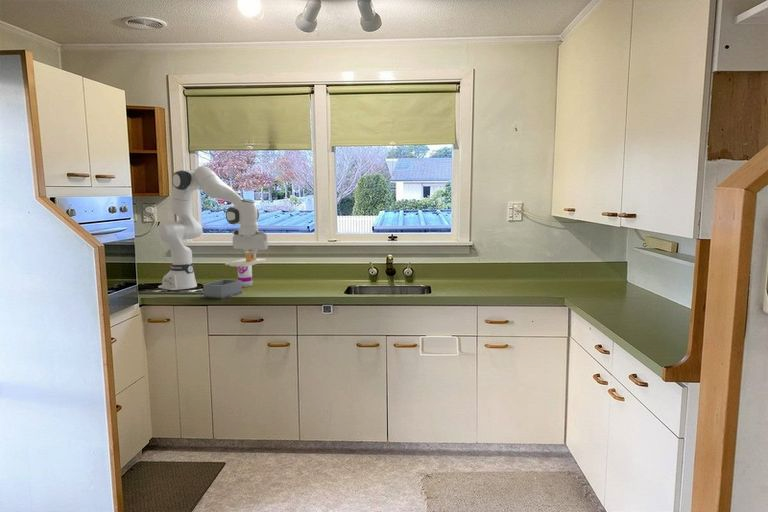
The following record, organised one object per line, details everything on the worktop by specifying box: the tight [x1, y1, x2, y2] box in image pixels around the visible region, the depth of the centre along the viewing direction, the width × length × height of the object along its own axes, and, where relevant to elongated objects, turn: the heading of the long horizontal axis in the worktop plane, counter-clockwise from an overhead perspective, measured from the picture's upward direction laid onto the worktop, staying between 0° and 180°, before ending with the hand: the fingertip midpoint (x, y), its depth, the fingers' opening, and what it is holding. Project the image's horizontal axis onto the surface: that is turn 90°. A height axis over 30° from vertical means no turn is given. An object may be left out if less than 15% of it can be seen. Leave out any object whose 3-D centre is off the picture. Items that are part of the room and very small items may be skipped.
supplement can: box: [236, 265, 254, 288], centre depth 294 cm, size 8×8×15 cm
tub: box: [202, 278, 243, 300], centre depth 268 cm, size 12×16×7 cm
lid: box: [224, 251, 267, 268], centre depth 259 cm, size 13×17×6 cm
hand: (251, 257), depth 258 cm, fingers closed on lid
